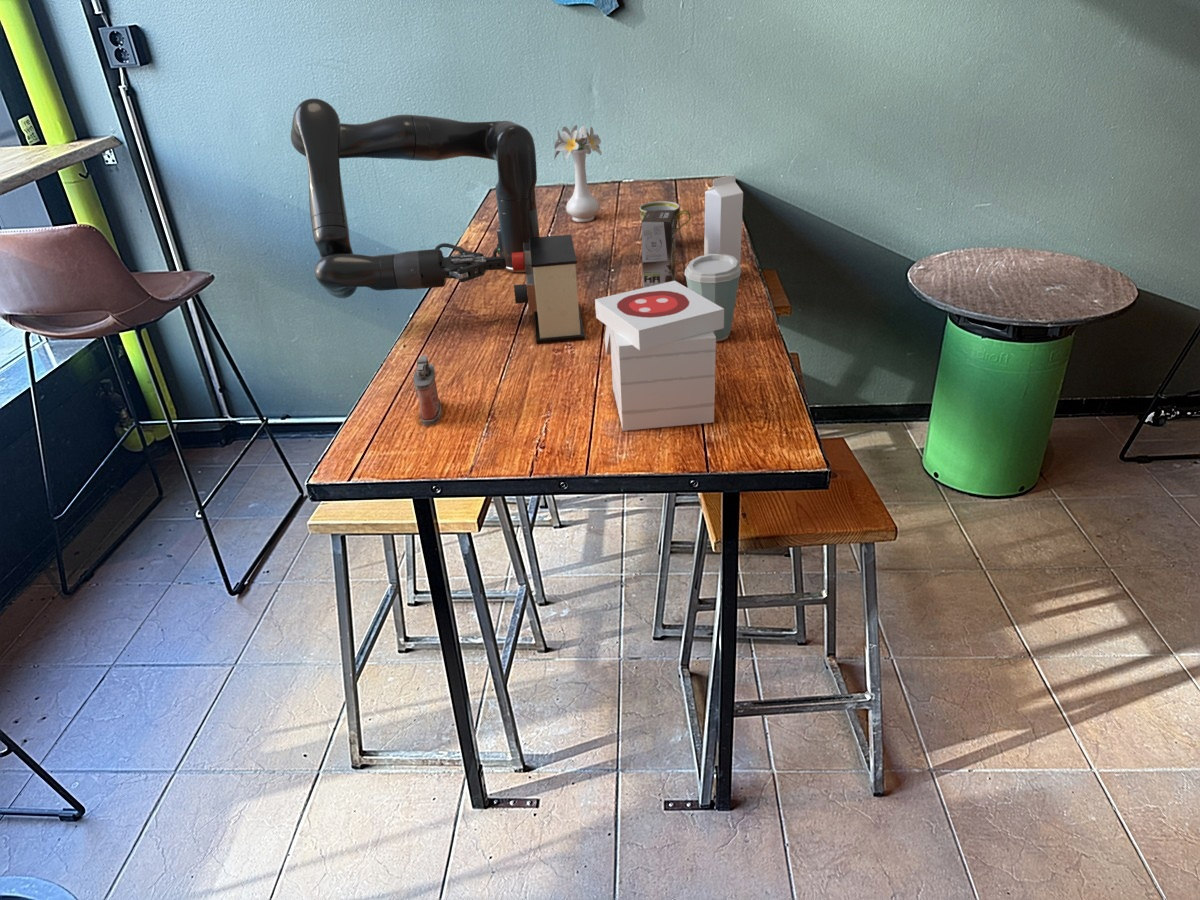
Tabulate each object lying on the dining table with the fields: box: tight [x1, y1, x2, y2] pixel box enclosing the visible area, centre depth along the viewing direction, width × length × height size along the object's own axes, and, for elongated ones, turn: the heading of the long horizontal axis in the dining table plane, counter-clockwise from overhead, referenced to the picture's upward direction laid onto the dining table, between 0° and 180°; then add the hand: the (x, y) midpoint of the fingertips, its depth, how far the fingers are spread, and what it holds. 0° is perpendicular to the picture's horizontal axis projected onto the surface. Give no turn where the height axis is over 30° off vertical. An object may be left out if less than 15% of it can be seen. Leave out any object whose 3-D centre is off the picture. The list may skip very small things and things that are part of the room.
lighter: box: [412, 354, 442, 426], centre depth 138 cm, size 8×3×10 cm, turn 5°
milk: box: [703, 174, 744, 266], centre depth 184 cm, size 6×6×22 cm
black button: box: [513, 283, 528, 305], centre depth 161 cm, size 2×4×4 cm, turn 6°
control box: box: [523, 234, 586, 345], centre depth 166 cm, size 10×18×16 cm, turn 6°
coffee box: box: [641, 210, 676, 288], centre depth 181 cm, size 9×6×16 cm
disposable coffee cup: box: [683, 254, 743, 343], centre depth 158 cm, size 11×11×15 cm
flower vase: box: [553, 124, 603, 223], centre depth 227 cm, size 13×18×25 cm
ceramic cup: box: [639, 200, 692, 235], centre depth 206 cm, size 13×10×10 cm
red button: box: [512, 252, 525, 271], centre depth 167 cm, size 2×4×4 cm, turn 6°
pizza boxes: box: [594, 280, 724, 432], centre depth 139 cm, size 19×30×18 cm, turn 5°
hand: (505, 262), depth 167 cm, fingers closed
